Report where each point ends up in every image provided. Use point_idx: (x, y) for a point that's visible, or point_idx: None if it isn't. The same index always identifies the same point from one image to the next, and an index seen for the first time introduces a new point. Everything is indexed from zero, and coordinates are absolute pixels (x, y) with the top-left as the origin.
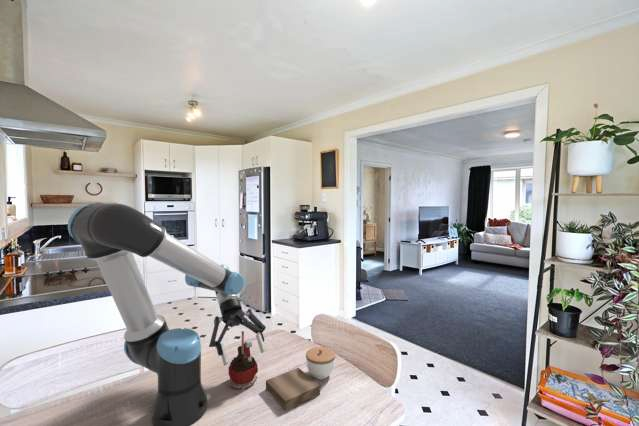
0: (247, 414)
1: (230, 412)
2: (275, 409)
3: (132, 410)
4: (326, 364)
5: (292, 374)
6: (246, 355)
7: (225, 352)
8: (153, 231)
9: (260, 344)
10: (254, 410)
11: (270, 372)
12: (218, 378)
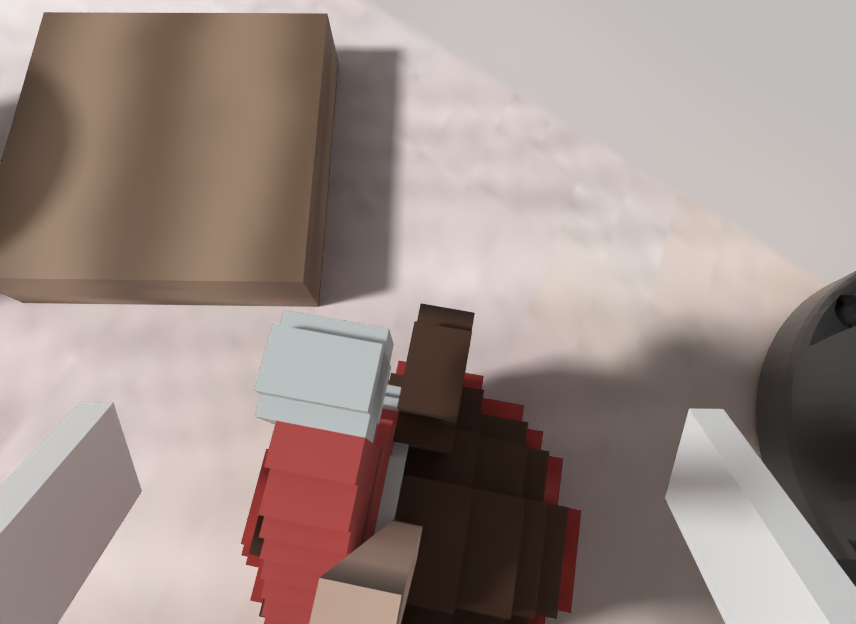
0: (538, 158)
1: (624, 233)
2: (378, 103)
3: None
4: None
5: (82, 223)
6: (403, 398)
7: (769, 521)
8: None
9: (57, 529)
10: (487, 164)
11: (154, 495)
12: None
